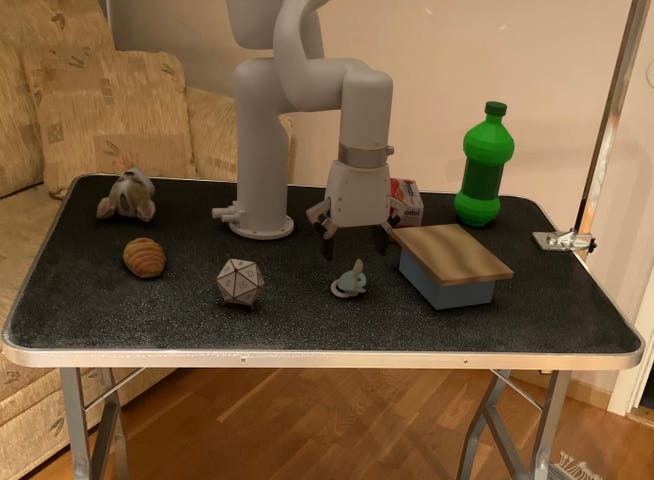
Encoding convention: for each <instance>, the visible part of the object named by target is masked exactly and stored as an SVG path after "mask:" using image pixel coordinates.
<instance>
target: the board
mask: <svg viewBox="0 0 654 480" xmlns="http://www.w3.org/2000/svg"><path fill="white" fill-rule="evenodd" d="M390 236H391V237H392V238H393V239H394V240H395V242H396V243H397V244H398V245H399V246H400V247H401V249H402V248H403V249H404V250H405V251H406V252H407V253H408V254H409V255H410V256H411V257H412V258H413V259H414V260H415V261H416V262H417V263H418V264H419V265H420V266H421V267H422V268H423V269H424V270H425V271H426V272H427V273H428V274H429V275H430V276H431V277H432V278H433V279H434V280H435V281H436V282H437V283H438V284H439V285H440V286H441V287H443V286H451V285H460V284H468V283H476V282H485V281H493V280H495V281H499V280H500V281H501V280H508V279H513V277H514V273H515V272H514V271H513V270H512V269H510V267H509V266H507V265H506V264H505V263H503V261H501V259H499V258H498V257H497V256H495V254H494V253H492V252H491V251H490V250H488V249H487V248H486V247H485V246H484V245H483V244H482V243H480V242H479V241H478V240H477V239H476V238H475V237H473V236H472V235H471V234H470V233H468V232H467V231H466V230H465V229H464V228H462V226H460V225H459V224H458V223H448V224H435V225H425V226H424V225H423V226H421V227H411V228H399V229H393V232H392V233H391V234H390Z"/></svg>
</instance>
